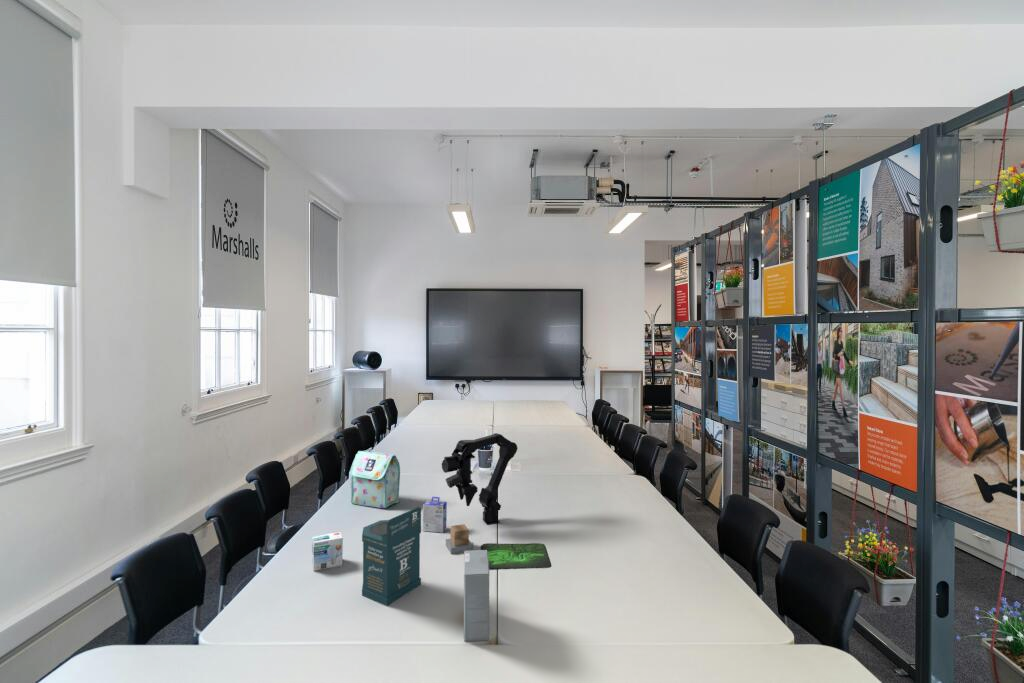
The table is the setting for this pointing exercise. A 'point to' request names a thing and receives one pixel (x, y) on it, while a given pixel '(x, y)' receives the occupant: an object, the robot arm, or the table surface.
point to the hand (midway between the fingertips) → (464, 502)
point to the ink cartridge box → (434, 515)
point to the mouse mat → (517, 556)
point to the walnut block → (459, 535)
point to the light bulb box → (327, 551)
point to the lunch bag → (375, 479)
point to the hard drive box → (476, 595)
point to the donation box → (391, 557)
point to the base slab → (458, 547)
